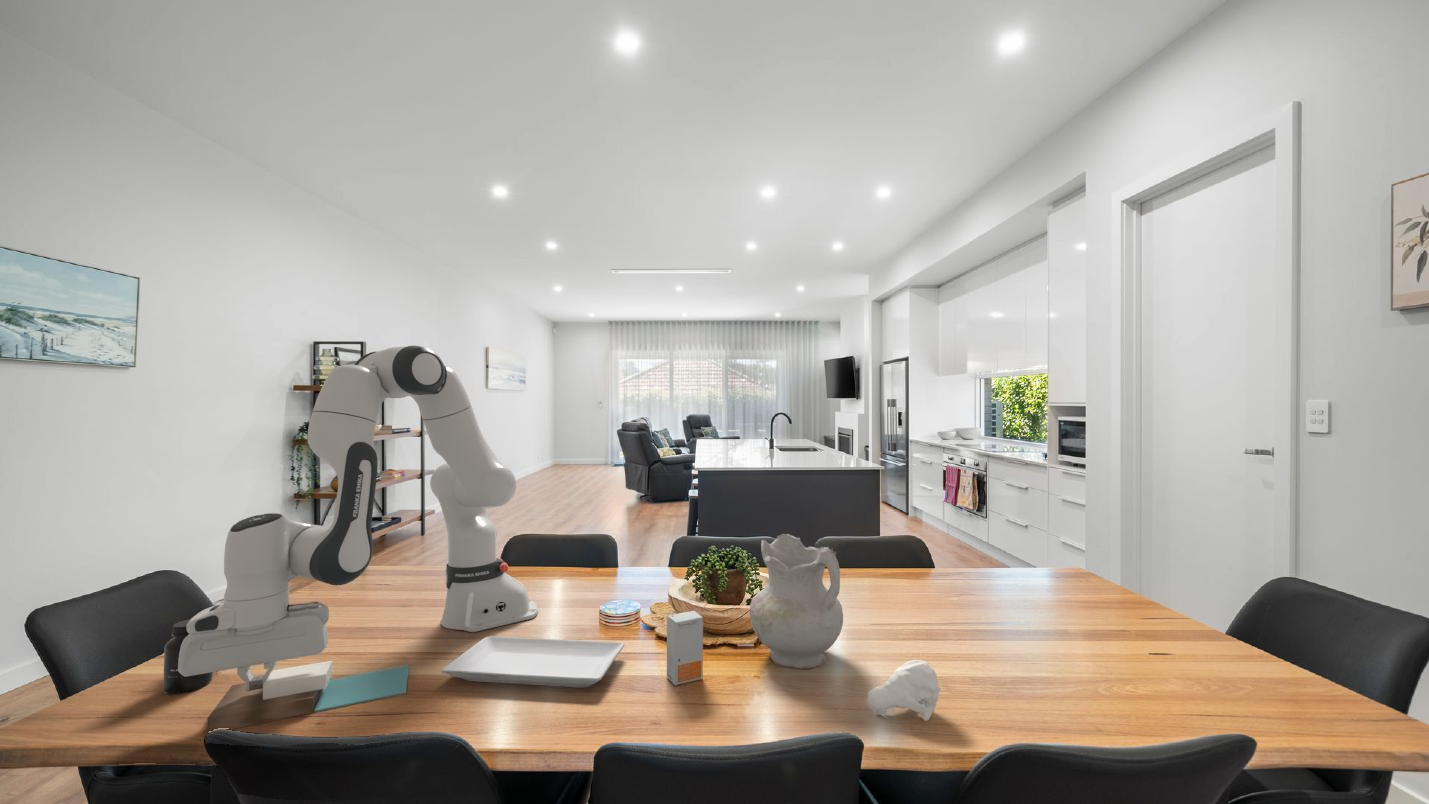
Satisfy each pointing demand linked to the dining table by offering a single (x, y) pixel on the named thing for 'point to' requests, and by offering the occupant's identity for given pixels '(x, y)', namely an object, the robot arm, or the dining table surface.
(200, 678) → the supplement bottle
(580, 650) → the tray
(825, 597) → the ceramic pitcher
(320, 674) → the white flat block
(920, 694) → the white animal skull
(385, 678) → the teal mat
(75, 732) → the dining table surface
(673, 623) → the skincare box
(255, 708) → the block
